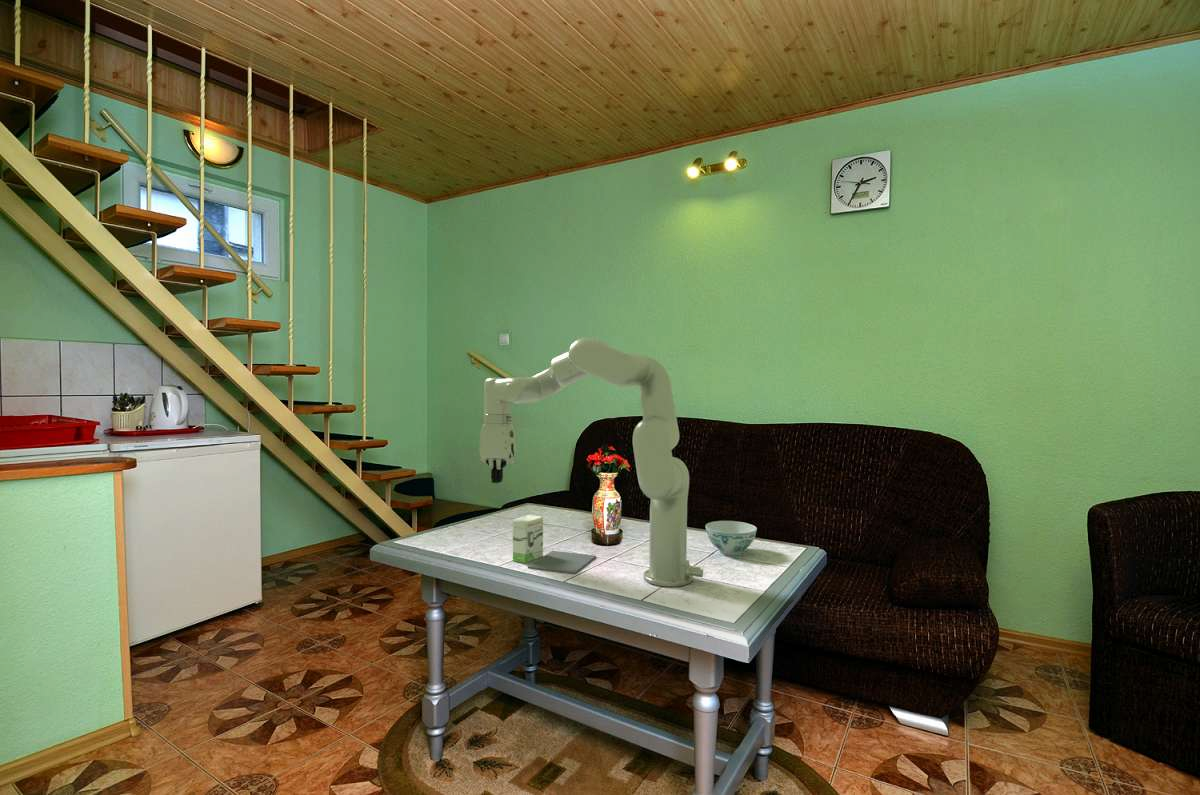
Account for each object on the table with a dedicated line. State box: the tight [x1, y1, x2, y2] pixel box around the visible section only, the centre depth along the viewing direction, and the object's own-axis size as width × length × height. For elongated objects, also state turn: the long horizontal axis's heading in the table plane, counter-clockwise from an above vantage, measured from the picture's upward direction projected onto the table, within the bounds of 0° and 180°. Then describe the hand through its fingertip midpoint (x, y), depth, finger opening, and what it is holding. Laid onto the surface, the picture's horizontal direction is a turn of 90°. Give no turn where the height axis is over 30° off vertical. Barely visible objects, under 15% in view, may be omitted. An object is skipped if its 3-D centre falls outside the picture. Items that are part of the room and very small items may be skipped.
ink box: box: [512, 514, 544, 564], centre depth 169 cm, size 9×5×12 cm, turn 149°
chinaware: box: [705, 520, 758, 557], centre depth 176 cm, size 15×15×8 cm
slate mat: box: [527, 550, 597, 575], centre depth 165 cm, size 14×16×1 cm
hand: (496, 482), depth 172 cm, fingers closed
